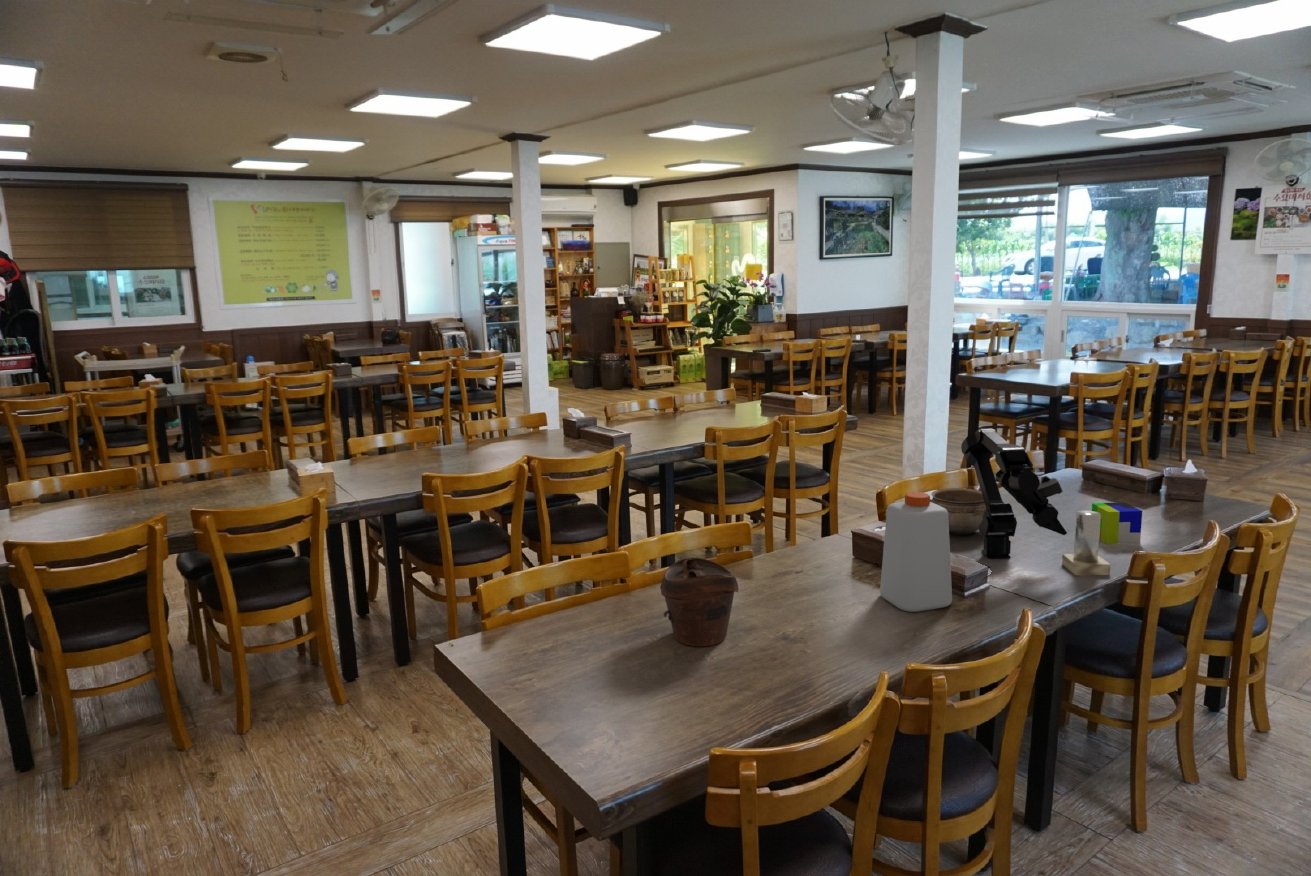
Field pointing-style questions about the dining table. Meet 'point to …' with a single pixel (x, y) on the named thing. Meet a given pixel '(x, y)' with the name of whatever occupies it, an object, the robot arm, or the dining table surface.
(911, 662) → the dining table surface
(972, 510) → the cooking pot
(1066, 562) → the birch block
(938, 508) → the plastic bottle
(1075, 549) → the metal cylinder
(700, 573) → the brown lidded bucket
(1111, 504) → the puzzle toy
